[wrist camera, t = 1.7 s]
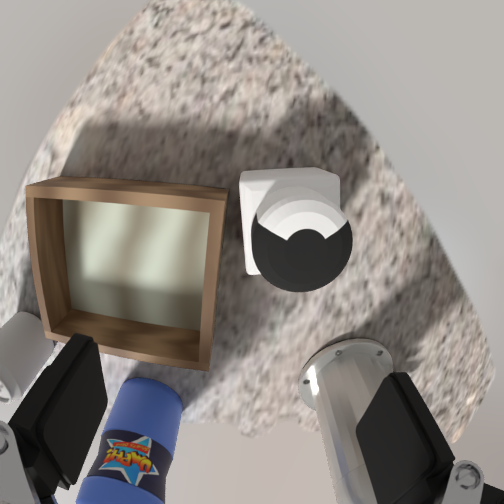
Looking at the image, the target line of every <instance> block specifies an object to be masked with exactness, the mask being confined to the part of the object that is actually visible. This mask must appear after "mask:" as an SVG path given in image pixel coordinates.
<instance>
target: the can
mask: <svg viewBox="0 0 504 504" xmlns="http://www.w3.org/2000/svg"><path fill="white" fill-rule="evenodd" d="M53 350H54V344H53V340H51V339H48V338H46V336H45V332H44V328H43V324H42V320H41V319H39V318H38V317H37V316H35V315H33V314H30V313H28V312H23V311H20V312H18V313H16V314H15V315H14V316H13V317H12V318H11V319H10V320H9V321H8V322H7V323H6V324H5V325H3V326H2V327H1V328H0V402H1V403H3V404H10V403H11V402H12V401H14V400H15V401H16V400H19V399H20V398H21V397H22V395H23V394H24V392H25V391H26V389H27V388H28V386H29V385H30V384H31V382H32V381H33V379H34V378H35V376H36V375H37V374H38V372H39V371H40V369H41V368H42V367H43V365H44V364H45V362H46V361H47V360H48V358H49V357H50V356H51V354H52V353H53Z"/></svg>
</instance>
